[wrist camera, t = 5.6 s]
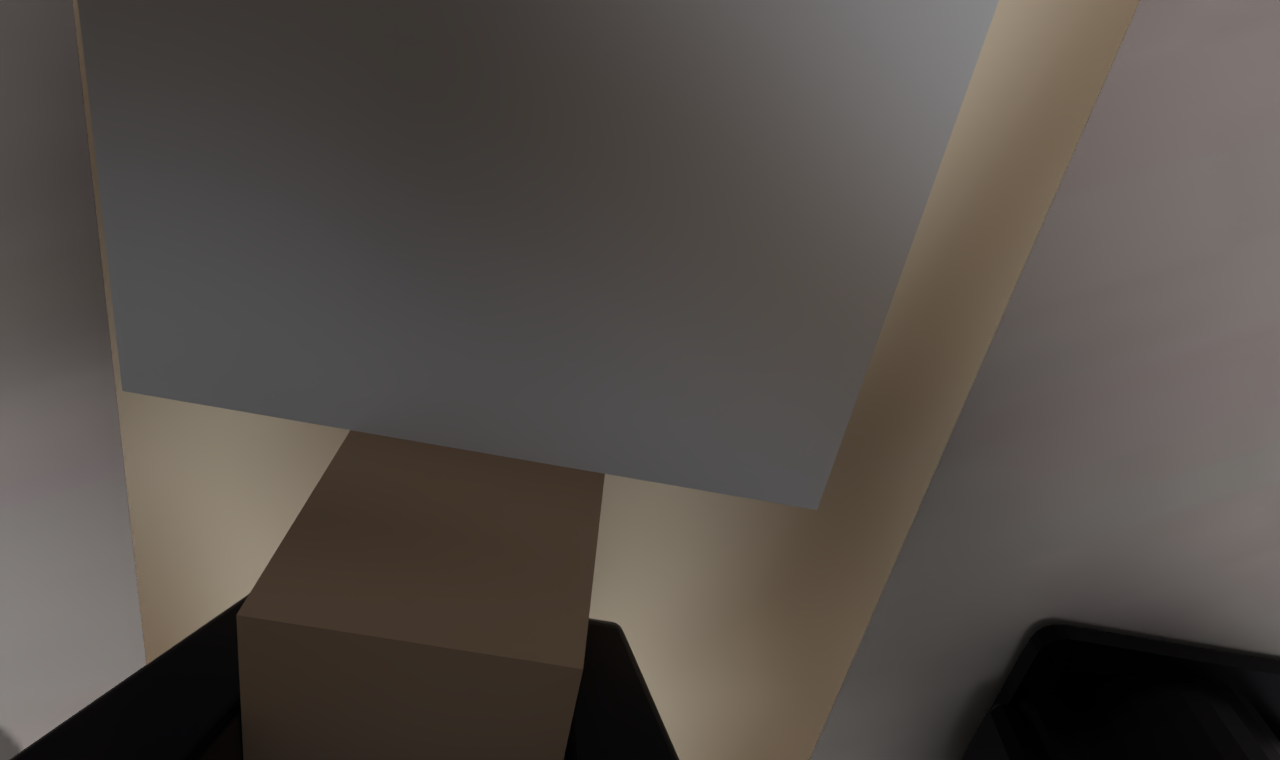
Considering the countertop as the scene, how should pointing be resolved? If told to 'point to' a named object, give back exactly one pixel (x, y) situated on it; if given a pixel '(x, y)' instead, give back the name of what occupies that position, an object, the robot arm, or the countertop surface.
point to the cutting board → (689, 518)
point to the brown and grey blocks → (503, 301)
